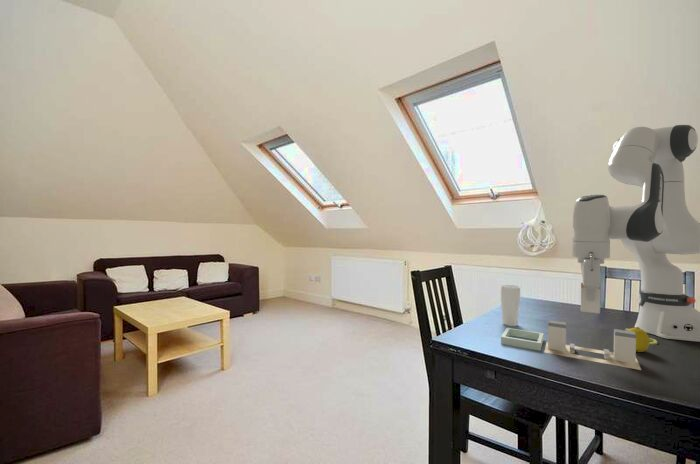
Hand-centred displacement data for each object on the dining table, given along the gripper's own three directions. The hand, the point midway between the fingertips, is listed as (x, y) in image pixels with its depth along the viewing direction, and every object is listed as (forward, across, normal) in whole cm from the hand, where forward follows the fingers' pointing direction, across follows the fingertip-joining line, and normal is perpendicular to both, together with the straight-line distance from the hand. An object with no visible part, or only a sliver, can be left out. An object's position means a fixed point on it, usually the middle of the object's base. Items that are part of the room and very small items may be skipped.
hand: (590, 298), depth 99 cm
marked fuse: (+4, 0, 0) cm, 4 cm away
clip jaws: (+17, 0, 0) cm, 17 cm away
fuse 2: (+16, 0, -8) cm, 18 cm away
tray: (+17, +1, +18) cm, 24 cm away
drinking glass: (+17, +20, +24) cm, 36 cm away
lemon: (+17, +11, -12) cm, 24 cm away
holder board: (+17, 0, 0) cm, 17 cm away
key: (+18, +28, -14) cm, 36 cm away
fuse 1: (+16, 0, +8) cm, 18 cm away
